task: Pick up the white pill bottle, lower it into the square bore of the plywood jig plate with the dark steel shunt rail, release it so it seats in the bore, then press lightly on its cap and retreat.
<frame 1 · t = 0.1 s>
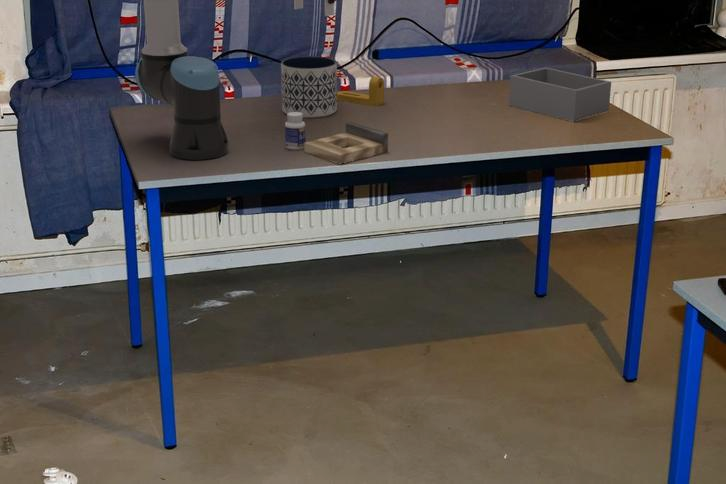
hand: (313, 12, 309), 28 cm above the table, fingers open, 13 cm apart
pill bottle: (295, 147, 285), on the table
bracket: (358, 102, 328), on the table
open gray rectangular box: (558, 108, 320), on the table
jig: (346, 152, 280), on the table
planter: (309, 112, 317), on the table
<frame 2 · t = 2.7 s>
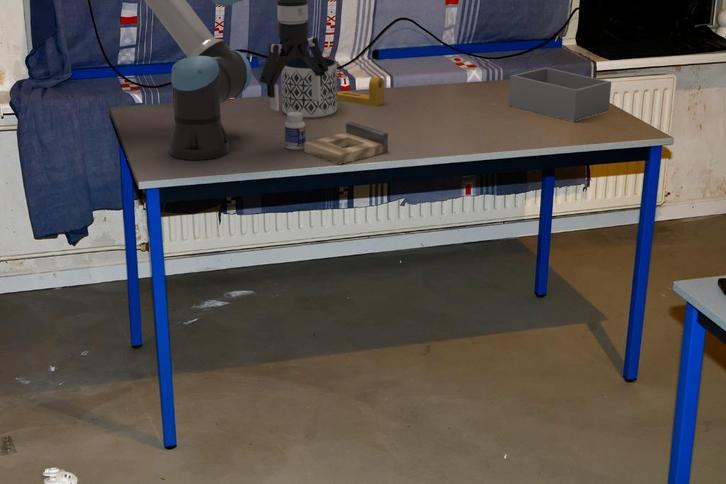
hand: (295, 104, 280), 11 cm above the table, fingers open, 13 cm apart
nothing on the table moved.
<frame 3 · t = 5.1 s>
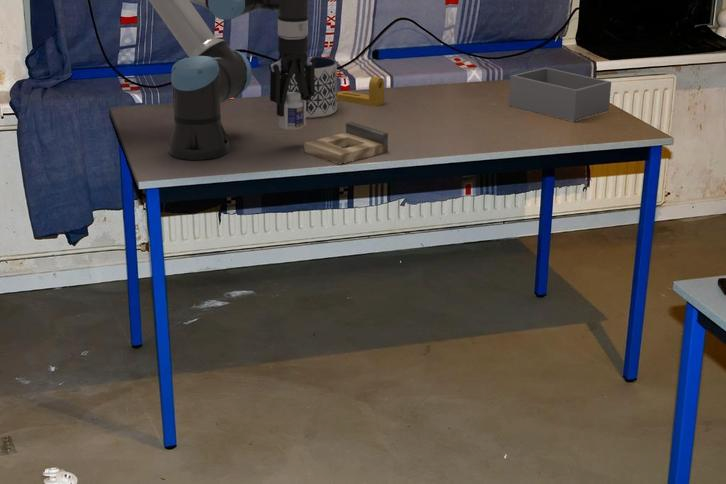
hand: (292, 125, 283), 6 cm above the table, fingers closed on pill bottle, 5 cm apart
pill bottle: (292, 127, 283), point 5 cm above the table, touching gripper
everything else where it was.
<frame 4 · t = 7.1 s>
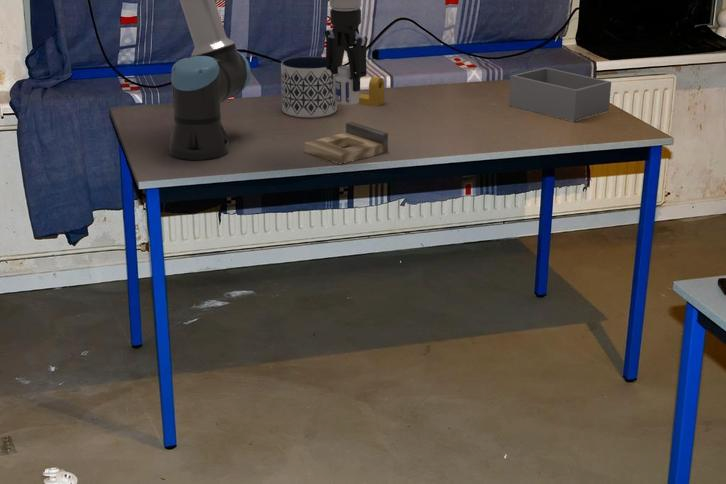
hand: (346, 101, 275), 13 cm above the table, fingers closed on pill bottle, 5 cm apart
pill bottle: (346, 103, 276), point 13 cm above the table, touching gripper
everything else where it was.
when the fingers open (3 cm above the table, at t = 9.1 s): pill bottle drops 3 cm, resting in jig.
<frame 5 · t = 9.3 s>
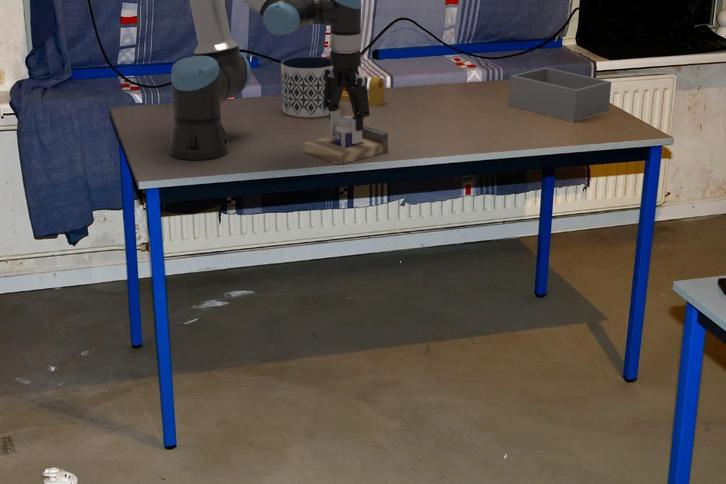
hand: (346, 138, 279), 3 cm above the table, fingers open, 8 cm apart
pill bottle: (345, 152, 281), resting in jig
everything else where it was.
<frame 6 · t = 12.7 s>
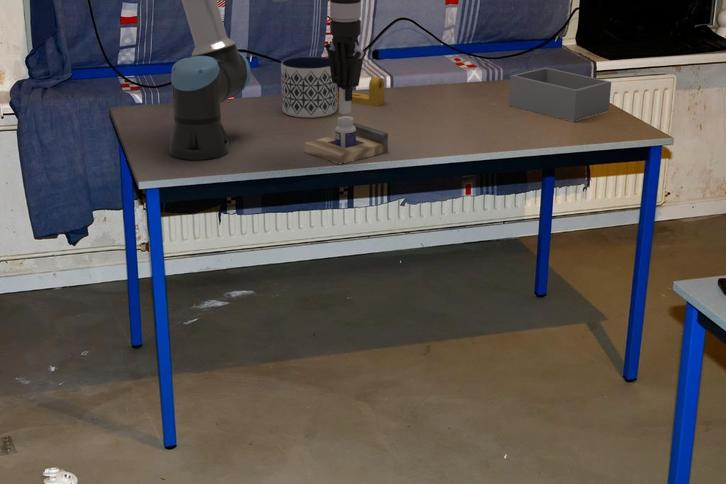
hand: (345, 112, 277), 10 cm above the table, fingers closed
nothing on the table moved.
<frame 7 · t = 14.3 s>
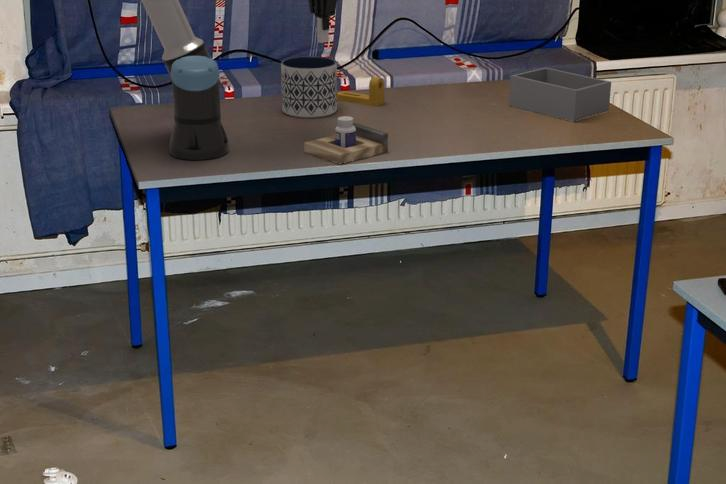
hand: (323, 41, 289), 24 cm above the table, fingers closed
nothing on the table moved.
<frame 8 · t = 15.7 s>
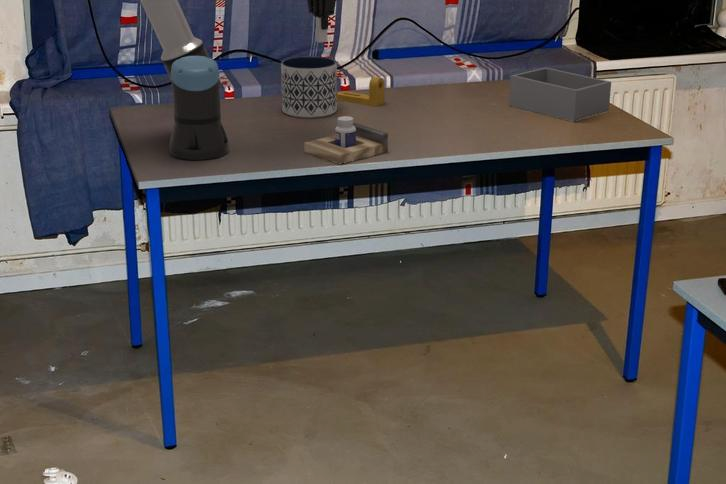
hand: (321, 41, 289), 24 cm above the table, fingers closed
nothing on the table moved.
at the end: pill bottle 0.2 cm off-centre on the jig, point 0.0 cm above the jig's base; pill bottle tilted 0°; the gripper is holding nothing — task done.
